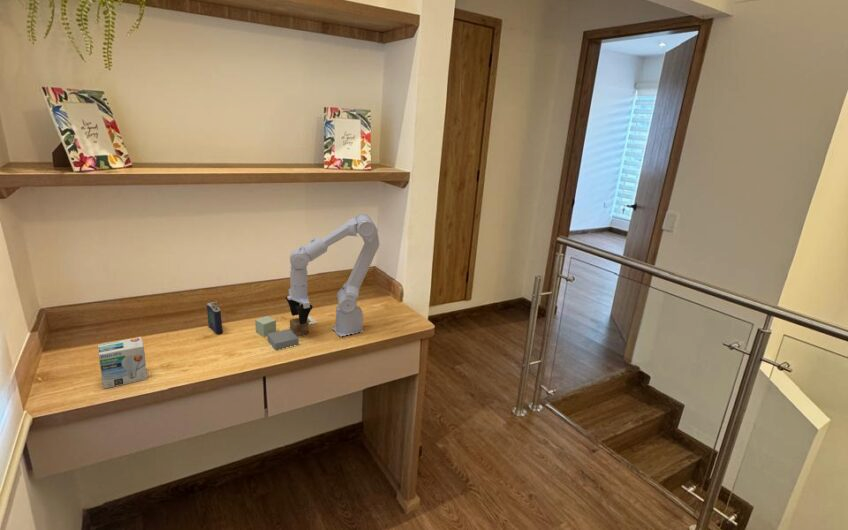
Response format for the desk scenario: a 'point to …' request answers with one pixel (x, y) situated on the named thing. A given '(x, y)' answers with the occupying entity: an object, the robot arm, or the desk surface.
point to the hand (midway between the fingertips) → (298, 319)
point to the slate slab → (282, 339)
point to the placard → (311, 320)
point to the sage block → (265, 326)
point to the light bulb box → (122, 362)
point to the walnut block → (299, 327)
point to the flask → (214, 318)
